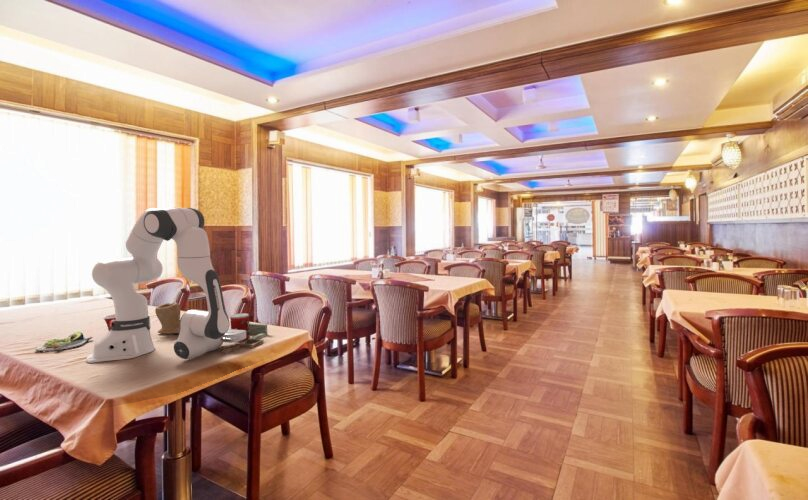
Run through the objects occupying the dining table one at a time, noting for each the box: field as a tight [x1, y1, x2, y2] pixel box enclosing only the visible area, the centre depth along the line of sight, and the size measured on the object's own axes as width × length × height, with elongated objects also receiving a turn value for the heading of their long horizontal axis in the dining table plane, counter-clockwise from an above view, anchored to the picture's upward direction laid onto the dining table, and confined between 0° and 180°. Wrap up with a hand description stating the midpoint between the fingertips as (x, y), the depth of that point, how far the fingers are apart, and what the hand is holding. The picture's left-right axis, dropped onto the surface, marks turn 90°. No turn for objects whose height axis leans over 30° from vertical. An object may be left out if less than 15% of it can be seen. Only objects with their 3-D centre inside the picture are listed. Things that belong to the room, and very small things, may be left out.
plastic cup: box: [102, 313, 116, 332], centre depth 183 cm, size 11×11×12 cm
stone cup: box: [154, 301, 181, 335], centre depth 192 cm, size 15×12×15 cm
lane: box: [221, 322, 268, 354], centre depth 174 cm, size 28×28×5 cm
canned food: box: [229, 312, 251, 342], centre depth 179 cm, size 8×8×11 cm
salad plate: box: [35, 331, 94, 352], centre depth 174 cm, size 19×18×5 cm
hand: (234, 330), depth 175 cm, fingers closed, pressing on canned food
